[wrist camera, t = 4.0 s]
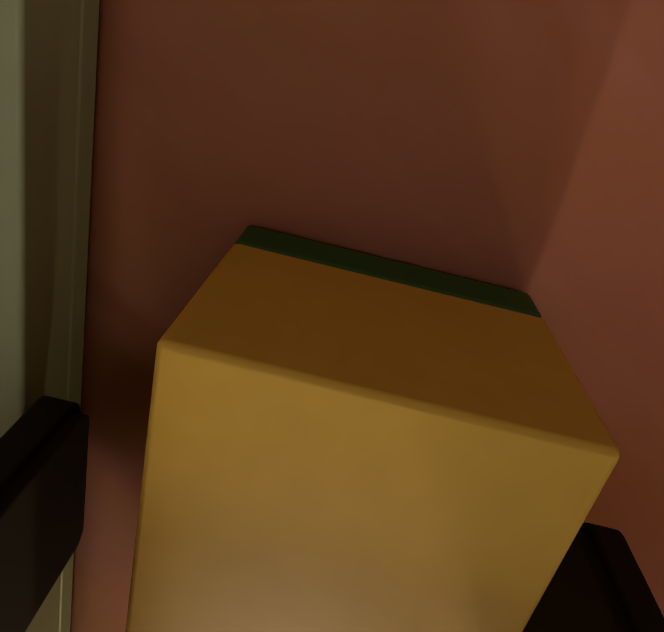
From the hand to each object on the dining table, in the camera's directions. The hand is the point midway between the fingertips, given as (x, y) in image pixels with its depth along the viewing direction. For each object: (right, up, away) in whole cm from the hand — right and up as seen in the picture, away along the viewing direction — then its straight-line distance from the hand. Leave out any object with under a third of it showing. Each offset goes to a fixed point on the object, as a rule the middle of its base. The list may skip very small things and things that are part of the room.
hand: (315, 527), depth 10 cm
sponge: (0, +1, +2) cm, 2 cm away
